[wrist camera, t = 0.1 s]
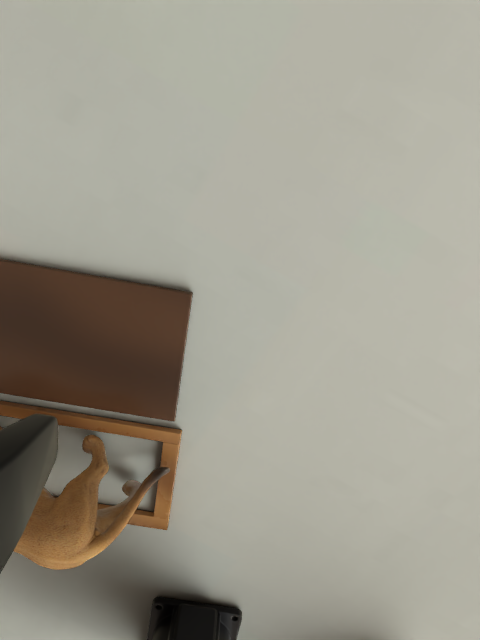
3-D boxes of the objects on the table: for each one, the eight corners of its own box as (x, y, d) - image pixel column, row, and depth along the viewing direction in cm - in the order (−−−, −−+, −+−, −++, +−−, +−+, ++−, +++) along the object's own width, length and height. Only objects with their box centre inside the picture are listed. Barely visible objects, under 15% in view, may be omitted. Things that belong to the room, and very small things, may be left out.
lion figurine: (-47, 485, 29) (-179, 627, 20) (-71, 417, 26) (-228, 543, 18) (175, 494, 27) (132, 647, 19) (168, 423, 25) (116, 560, 17)
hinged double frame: (168, 525, 29) (167, 530, 29) (-76, 487, 28) (-80, 492, 28) (202, 293, 23) (201, 296, 22) (-108, 239, 22) (-114, 241, 22)
